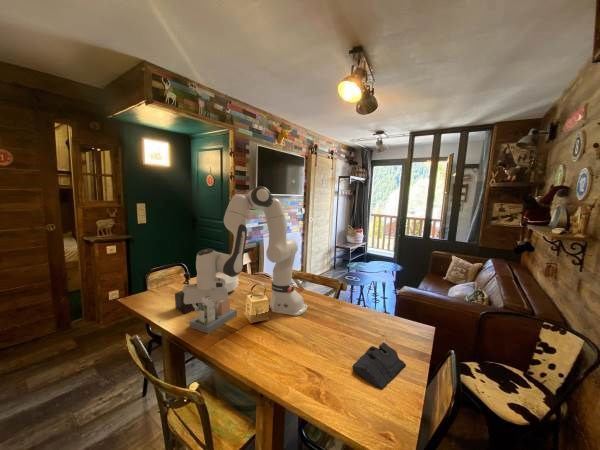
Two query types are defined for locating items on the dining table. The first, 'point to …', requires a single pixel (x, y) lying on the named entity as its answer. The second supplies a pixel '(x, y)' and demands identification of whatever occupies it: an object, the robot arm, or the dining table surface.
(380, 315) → the dining table surface
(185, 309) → the manual coffee grinder
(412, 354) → the dining table surface
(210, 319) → the syrup box
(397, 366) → the dark slate chunk
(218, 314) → the tray
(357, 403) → the dining table surface
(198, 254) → the robot arm
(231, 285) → the bowl
